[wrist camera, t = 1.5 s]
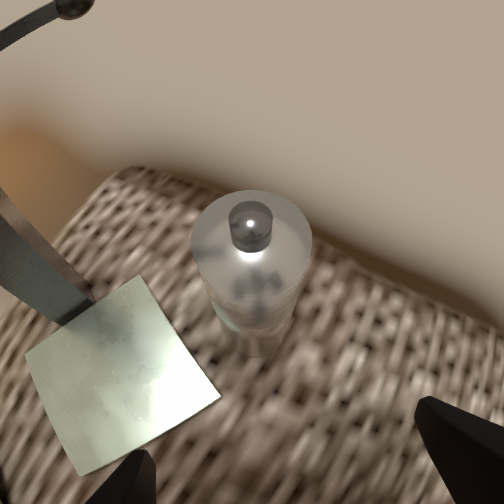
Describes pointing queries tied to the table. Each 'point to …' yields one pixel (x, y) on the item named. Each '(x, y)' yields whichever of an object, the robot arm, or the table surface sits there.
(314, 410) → the table surface
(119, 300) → the press
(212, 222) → the cocktail shaker
